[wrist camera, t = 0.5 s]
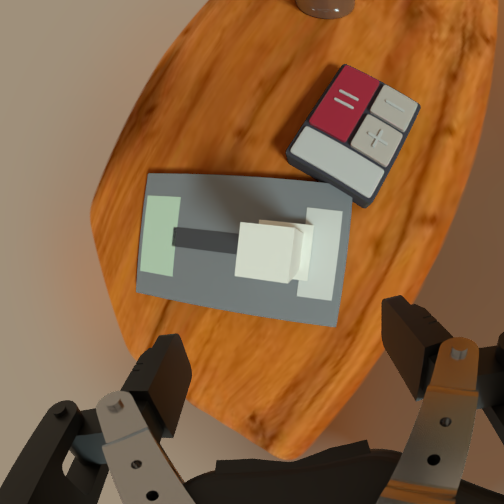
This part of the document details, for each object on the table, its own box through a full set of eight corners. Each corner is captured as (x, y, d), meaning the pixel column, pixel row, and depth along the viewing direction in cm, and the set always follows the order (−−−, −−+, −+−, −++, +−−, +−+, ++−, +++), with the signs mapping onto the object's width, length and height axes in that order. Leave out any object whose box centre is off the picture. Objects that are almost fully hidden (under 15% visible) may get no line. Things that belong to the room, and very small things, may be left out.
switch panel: (153, 175, 39) (147, 173, 38) (352, 188, 33) (353, 186, 32) (142, 290, 40) (135, 292, 38) (335, 323, 34) (335, 327, 33)
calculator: (423, 102, 28) (372, 203, 29) (414, 117, 32) (365, 210, 33) (343, 59, 30) (282, 151, 31) (341, 76, 34) (286, 163, 35)
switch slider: (261, 220, 34) (229, 207, 22) (314, 226, 33) (310, 215, 21) (255, 272, 34) (220, 287, 23) (307, 280, 33) (299, 299, 21)
